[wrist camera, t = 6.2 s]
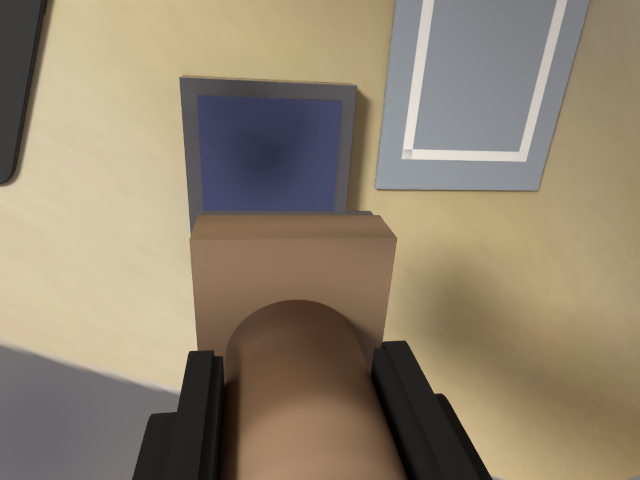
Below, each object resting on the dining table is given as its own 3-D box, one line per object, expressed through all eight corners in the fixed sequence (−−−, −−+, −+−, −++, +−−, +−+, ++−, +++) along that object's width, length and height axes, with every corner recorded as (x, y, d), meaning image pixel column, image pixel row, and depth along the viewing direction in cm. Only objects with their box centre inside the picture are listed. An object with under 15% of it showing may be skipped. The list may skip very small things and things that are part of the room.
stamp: (199, 207, 12) (-101, 1184, 2) (373, 207, 13) (883, 872, 2) (211, 399, 15) (125, 1194, 5) (353, 390, 16) (551, 1049, 5)
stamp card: (405, -89, 21) (407, -91, 21) (604, -66, 23) (609, -67, 22) (374, 187, 27) (375, 189, 26) (534, 189, 28) (538, 190, 28)
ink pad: (183, 75, 22) (178, 77, 21) (351, 83, 24) (357, 86, 22) (197, 276, 27) (194, 289, 26) (335, 273, 29) (340, 285, 27)
